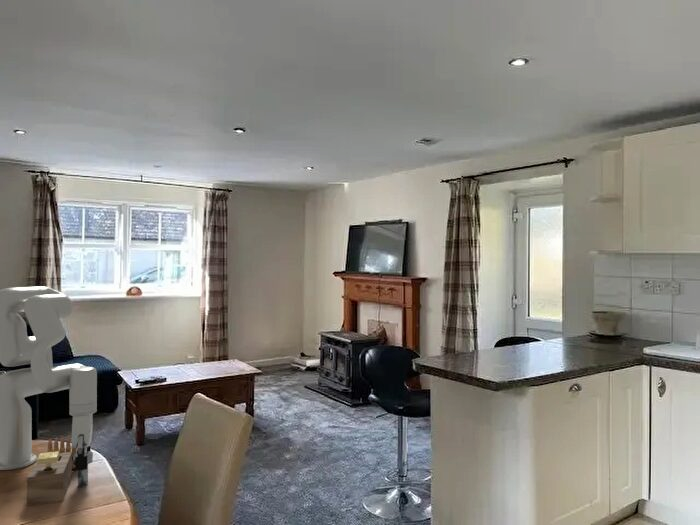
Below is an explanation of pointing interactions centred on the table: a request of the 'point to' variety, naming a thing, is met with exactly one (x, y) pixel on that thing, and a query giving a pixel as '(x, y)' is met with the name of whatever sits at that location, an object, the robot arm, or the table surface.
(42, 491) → the block
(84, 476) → the pin
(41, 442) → the table surface
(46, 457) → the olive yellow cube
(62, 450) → the ammunition clip
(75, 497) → the table surface
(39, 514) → the table surface
